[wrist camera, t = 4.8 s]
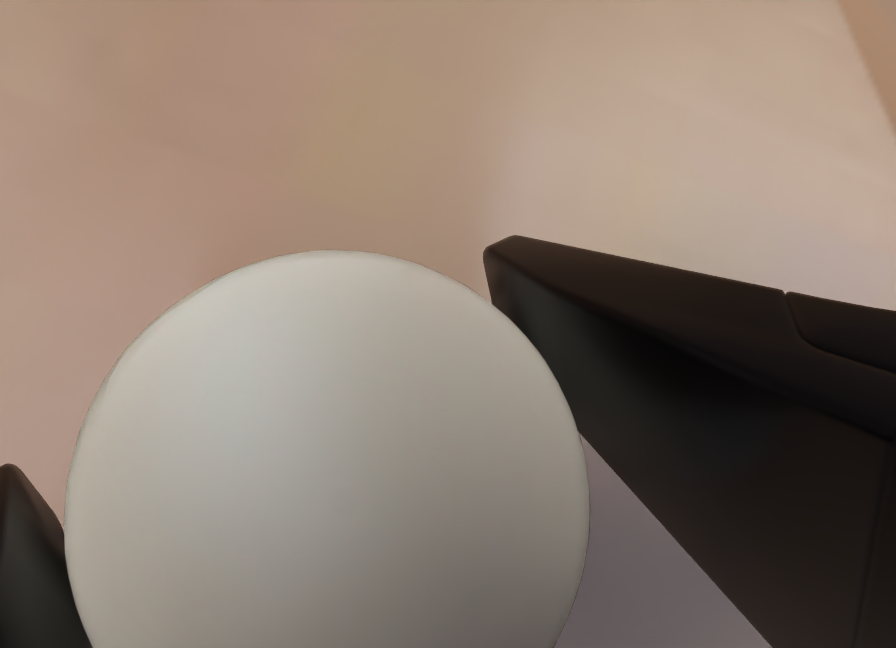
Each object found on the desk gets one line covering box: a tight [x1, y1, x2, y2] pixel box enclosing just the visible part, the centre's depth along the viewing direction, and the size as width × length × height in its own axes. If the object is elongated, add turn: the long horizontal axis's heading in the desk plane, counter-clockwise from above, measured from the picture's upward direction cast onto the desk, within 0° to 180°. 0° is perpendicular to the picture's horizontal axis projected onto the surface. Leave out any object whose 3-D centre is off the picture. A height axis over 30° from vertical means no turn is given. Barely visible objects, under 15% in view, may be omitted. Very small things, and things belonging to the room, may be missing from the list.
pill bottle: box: [64, 250, 590, 648], centre depth 11 cm, size 5×5×10 cm
